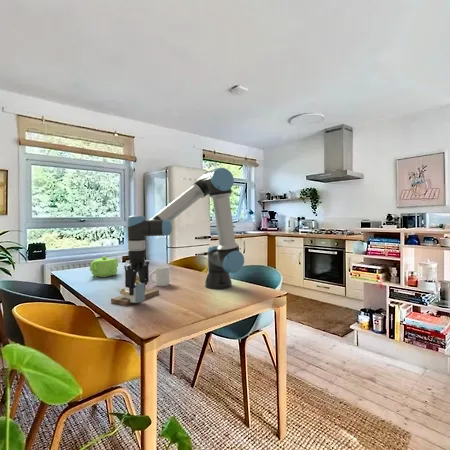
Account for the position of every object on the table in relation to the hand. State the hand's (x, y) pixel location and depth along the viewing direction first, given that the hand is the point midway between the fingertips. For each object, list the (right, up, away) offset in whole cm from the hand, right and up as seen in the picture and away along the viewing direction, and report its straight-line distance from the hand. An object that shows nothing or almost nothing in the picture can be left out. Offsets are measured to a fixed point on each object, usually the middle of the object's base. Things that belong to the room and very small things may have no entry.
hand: (137, 300), depth 133 cm
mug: (+2, -1, +36) cm, 36 cm away
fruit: (-8, -1, +25) cm, 27 cm away
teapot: (-40, 0, +62) cm, 74 cm away
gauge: (-4, 0, +2) cm, 4 cm away
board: (-4, -1, +10) cm, 10 cm away
